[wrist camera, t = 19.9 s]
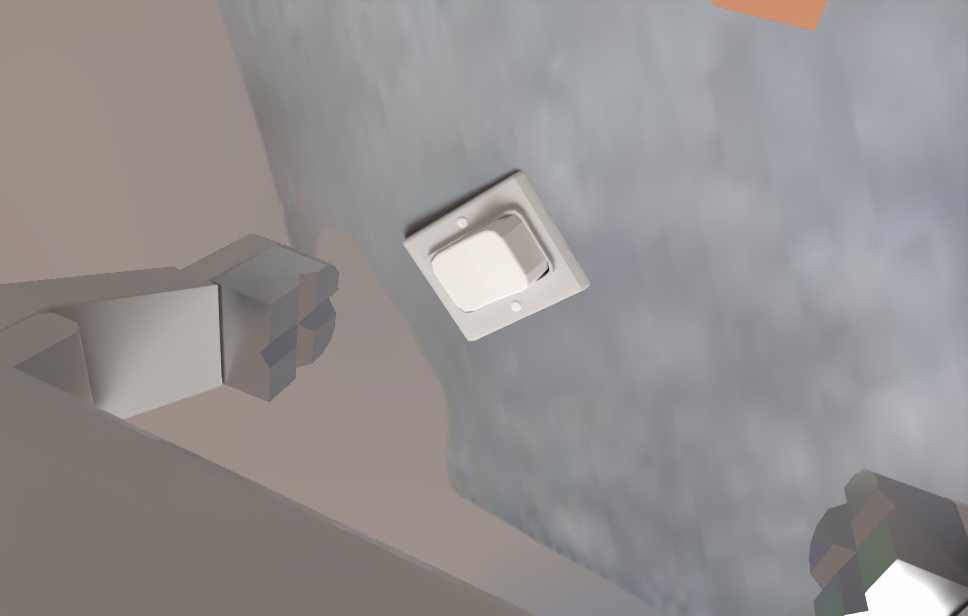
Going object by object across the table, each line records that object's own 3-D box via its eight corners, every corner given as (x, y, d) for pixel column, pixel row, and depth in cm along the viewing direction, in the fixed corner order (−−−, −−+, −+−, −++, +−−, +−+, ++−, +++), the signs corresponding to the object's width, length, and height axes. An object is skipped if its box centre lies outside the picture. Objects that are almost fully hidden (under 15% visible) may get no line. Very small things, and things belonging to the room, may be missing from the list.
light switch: (587, 299, 47) (458, 357, 53) (595, 278, 51) (473, 335, 57) (513, 177, 45) (387, 253, 51) (526, 164, 48) (407, 236, 54)
